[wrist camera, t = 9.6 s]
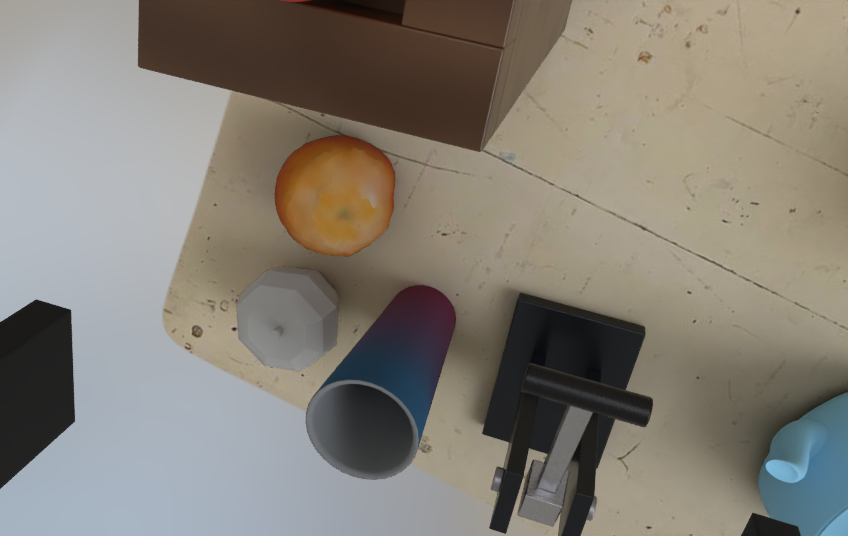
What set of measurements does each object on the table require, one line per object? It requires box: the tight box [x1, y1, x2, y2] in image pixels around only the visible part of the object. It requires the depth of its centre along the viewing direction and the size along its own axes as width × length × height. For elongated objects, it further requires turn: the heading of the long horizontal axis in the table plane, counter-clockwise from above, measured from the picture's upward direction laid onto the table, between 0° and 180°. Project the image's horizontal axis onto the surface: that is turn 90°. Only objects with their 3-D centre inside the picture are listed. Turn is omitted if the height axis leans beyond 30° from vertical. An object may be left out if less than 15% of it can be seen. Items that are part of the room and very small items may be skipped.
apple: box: [236, 266, 339, 371], centre depth 55 cm, size 8×8×7 cm
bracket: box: [482, 293, 645, 536], centre depth 49 cm, size 12×9×15 cm
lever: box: [518, 363, 653, 526], centre depth 40 cm, size 13×6×2 cm, turn 169°
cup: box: [306, 286, 456, 480], centre depth 50 cm, size 7×7×15 cm
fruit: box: [275, 135, 395, 256], centre depth 51 cm, size 8×8×8 cm
